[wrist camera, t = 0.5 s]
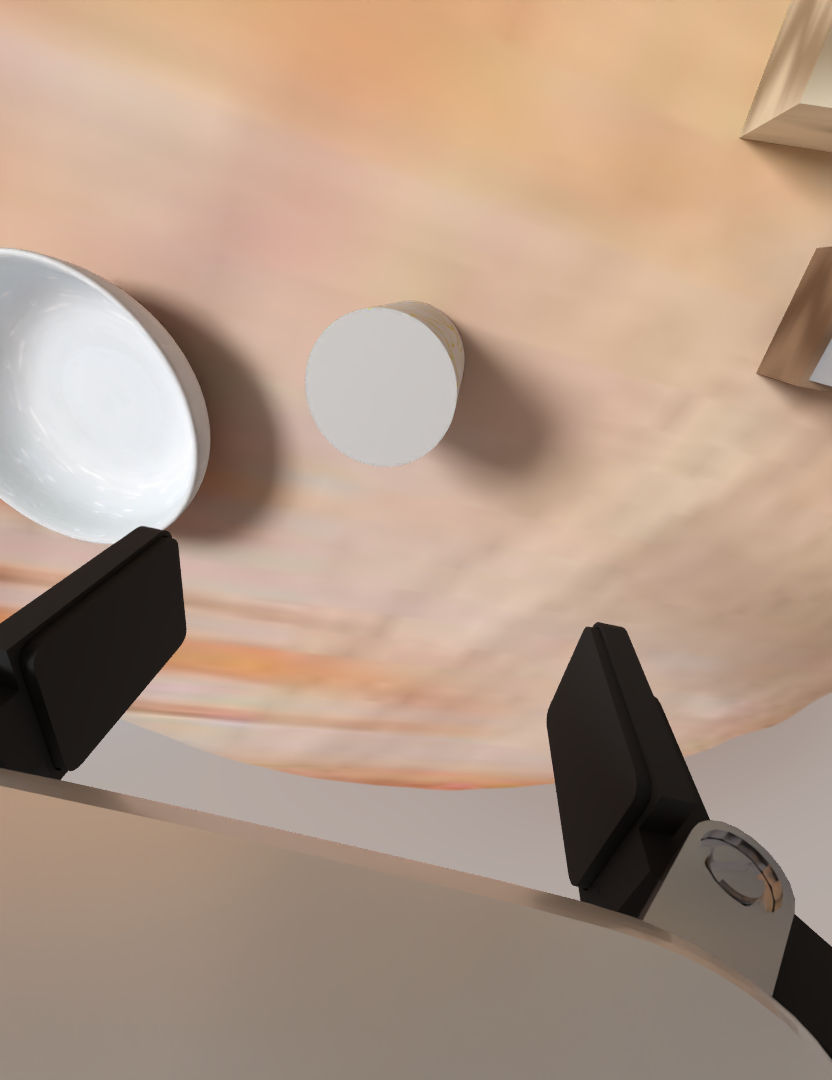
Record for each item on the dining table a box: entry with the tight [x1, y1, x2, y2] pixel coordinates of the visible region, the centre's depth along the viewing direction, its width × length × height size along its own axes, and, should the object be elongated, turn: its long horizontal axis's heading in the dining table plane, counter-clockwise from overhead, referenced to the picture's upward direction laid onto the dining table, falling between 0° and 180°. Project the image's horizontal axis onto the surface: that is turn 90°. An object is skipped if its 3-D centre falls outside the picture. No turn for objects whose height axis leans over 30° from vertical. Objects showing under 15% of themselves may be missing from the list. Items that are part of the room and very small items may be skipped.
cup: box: [305, 301, 465, 467], centre depth 30 cm, size 8×8×12 cm
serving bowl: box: [0, 248, 210, 544], centre depth 37 cm, size 21×21×7 cm
